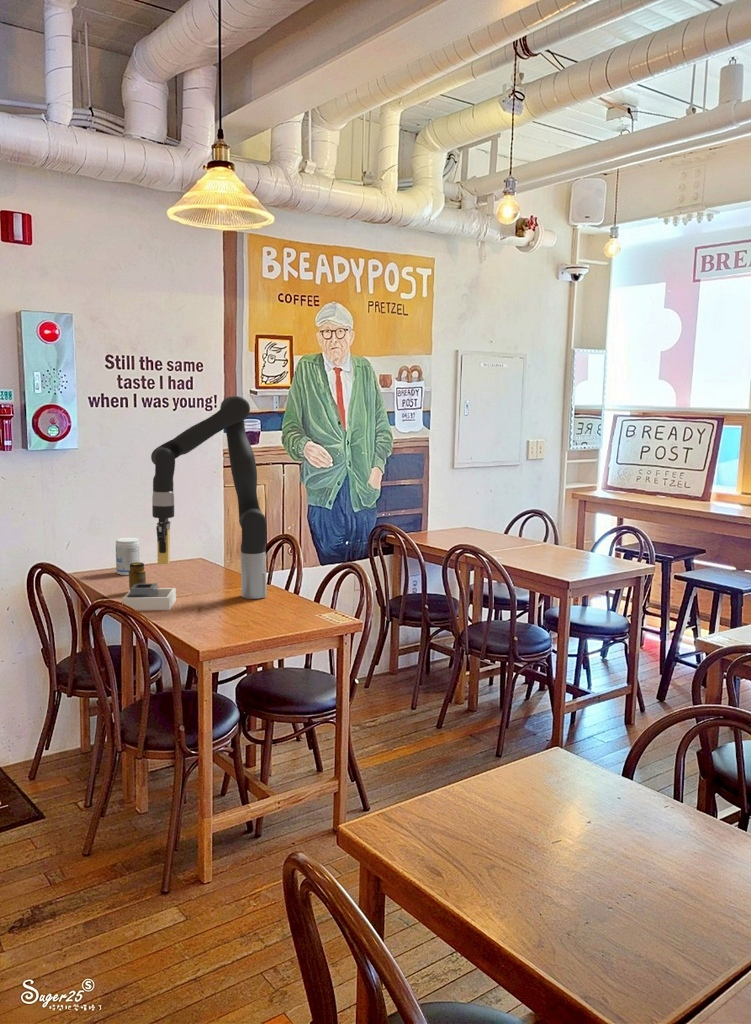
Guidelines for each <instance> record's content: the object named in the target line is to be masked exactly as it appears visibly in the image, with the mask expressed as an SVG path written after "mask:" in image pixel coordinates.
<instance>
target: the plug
mask: <svg viewBox="0 0 751 1024" xmlns="http://www.w3.org/2000/svg"><path fill="white" fill-rule="evenodd" d="M170 530H171V528H170V529H169V530H168V531H167V536H166V552H165V553H160V552H159V542H158V541H157V540H156V541H157V546H156V547H157V564H158V565H168V564H170V561H171V560H170V557H171V553H170V551H171V550H170V548H171V547H170V544H171V543H170V533H171V532H170ZM165 533H166V532H165ZM160 538H163V536H160Z"/></svg>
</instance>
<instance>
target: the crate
mask: <svg viewBox="0 0 751 1024" xmlns="http://www.w3.org/2000/svg"><path fill="white" fill-rule="evenodd" d="M176 601H177V589H176V587H172V588H171V587H170V588H169V587H166V588H165V587H164V588H162V587H160V588H158V597H130V591H129V590H128V592H127V593H126V594H125V595H124V596H123V597H122V604H123V603H124V604H126V605H128V606H130V607H132V608H134V609H136V610H135V611H171V608H172V607H173V605H174V604H175V603H176Z"/></svg>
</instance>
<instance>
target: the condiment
mask: <svg viewBox="0 0 751 1024" xmlns="http://www.w3.org/2000/svg"><path fill="white" fill-rule="evenodd" d="M146 578H147V576H146V570H145V563H144V562H141V561H140V562H135V563H131V564H130V571H129V575H128V582H129V583H128V586H129V587H128V588H129V590H128V592H129V591H130V588H131V587H132V586H133V585H134V584H144V583H147V582H146V581H147V580H146Z"/></svg>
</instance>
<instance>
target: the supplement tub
mask: <svg viewBox="0 0 751 1024" xmlns="http://www.w3.org/2000/svg"><path fill="white" fill-rule="evenodd" d="M135 562H141V561H140V540H139V538H137V537H121V538H120V537H119V538H116V539H115V566H116V567H115V568H116V569H115V570H116V574H117V575H119V574H120V576H129V571H130V564H131V563H135Z"/></svg>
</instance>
